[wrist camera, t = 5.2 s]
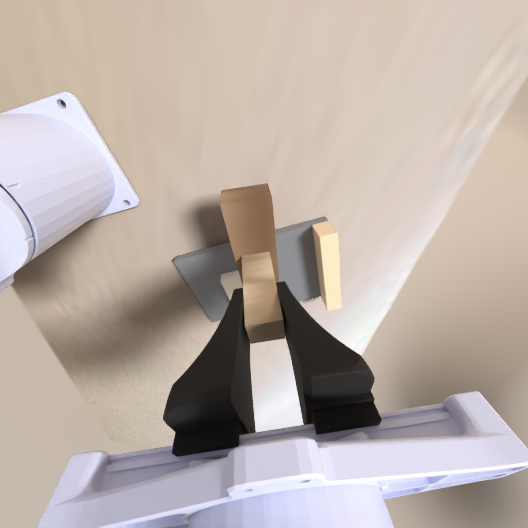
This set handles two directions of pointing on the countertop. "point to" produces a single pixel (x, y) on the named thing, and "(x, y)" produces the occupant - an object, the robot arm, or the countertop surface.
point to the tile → (231, 282)
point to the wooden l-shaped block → (255, 258)
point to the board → (289, 266)
